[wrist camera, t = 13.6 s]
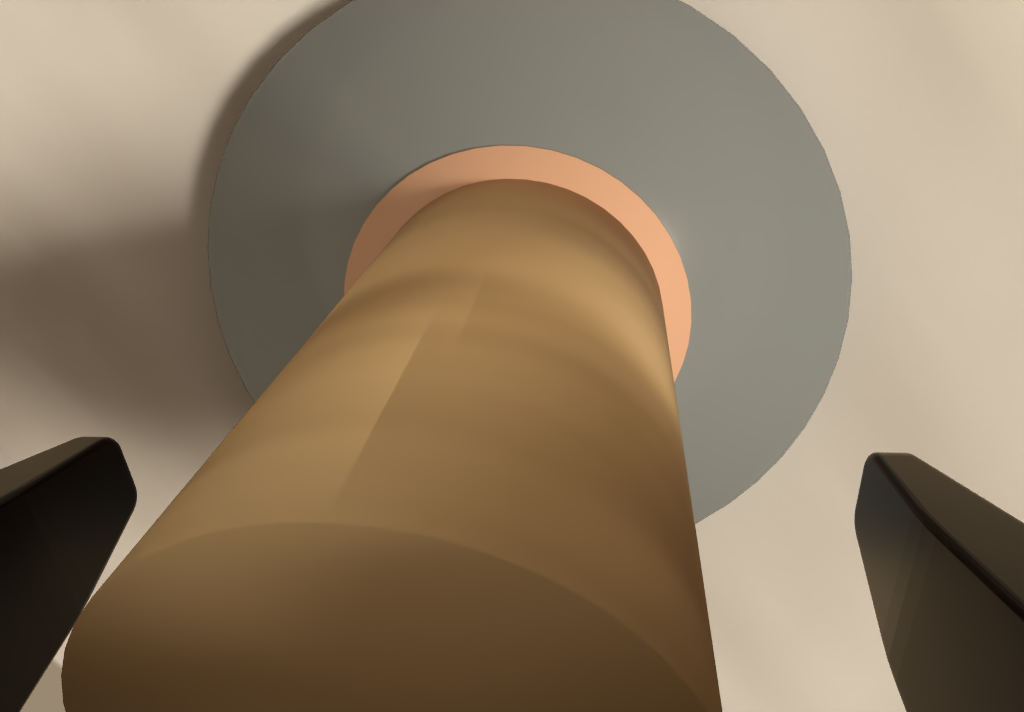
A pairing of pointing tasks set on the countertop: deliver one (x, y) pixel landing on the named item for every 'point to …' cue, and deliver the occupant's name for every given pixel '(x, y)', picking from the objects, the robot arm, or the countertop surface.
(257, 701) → the oak canister
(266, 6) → the countertop surface
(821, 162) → the coaster
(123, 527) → the robot arm
